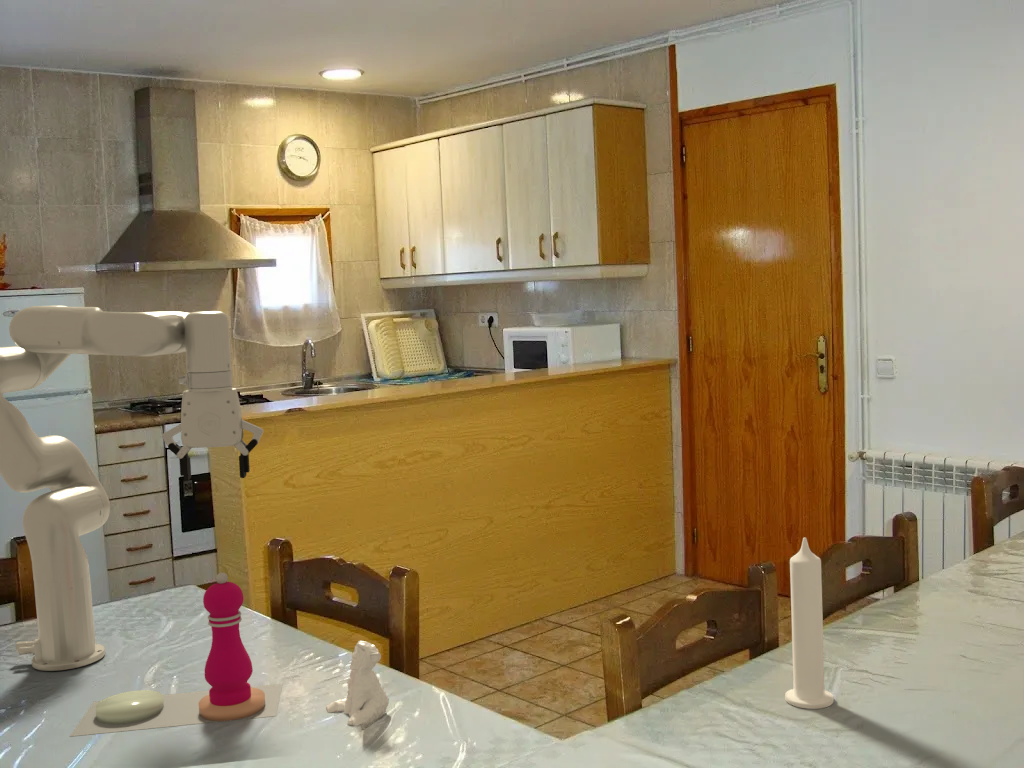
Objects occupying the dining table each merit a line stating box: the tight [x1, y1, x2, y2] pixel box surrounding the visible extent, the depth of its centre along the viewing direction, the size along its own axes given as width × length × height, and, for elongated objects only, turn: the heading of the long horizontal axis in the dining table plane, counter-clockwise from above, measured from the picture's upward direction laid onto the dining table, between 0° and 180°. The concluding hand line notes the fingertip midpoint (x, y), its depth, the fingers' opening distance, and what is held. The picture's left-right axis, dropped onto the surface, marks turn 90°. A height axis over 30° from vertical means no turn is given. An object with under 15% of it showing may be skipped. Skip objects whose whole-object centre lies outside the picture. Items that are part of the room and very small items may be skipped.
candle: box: [784, 536, 835, 710], centre depth 159 cm, size 7×7×25 cm
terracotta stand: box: [199, 686, 265, 722], centre depth 165 cm, size 10×10×2 cm
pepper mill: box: [202, 572, 254, 706], centre depth 164 cm, size 7×7×20 cm
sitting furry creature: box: [325, 640, 390, 731], centre depth 161 cm, size 10×9×12 cm
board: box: [69, 683, 284, 738], centre depth 166 cm, size 30×14×1 cm, turn 98°
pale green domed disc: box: [95, 689, 164, 724], centre depth 166 cm, size 10×10×2 cm
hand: (215, 478), depth 187 cm, fingers open, 9 cm apart
